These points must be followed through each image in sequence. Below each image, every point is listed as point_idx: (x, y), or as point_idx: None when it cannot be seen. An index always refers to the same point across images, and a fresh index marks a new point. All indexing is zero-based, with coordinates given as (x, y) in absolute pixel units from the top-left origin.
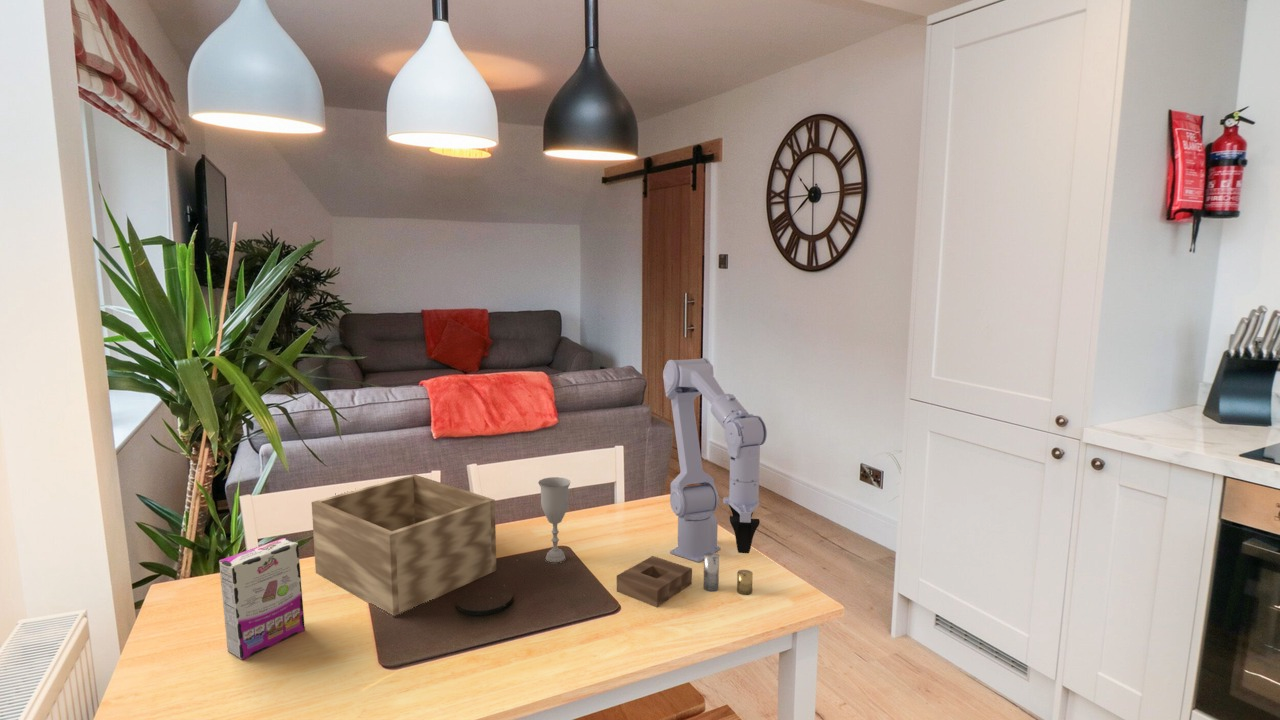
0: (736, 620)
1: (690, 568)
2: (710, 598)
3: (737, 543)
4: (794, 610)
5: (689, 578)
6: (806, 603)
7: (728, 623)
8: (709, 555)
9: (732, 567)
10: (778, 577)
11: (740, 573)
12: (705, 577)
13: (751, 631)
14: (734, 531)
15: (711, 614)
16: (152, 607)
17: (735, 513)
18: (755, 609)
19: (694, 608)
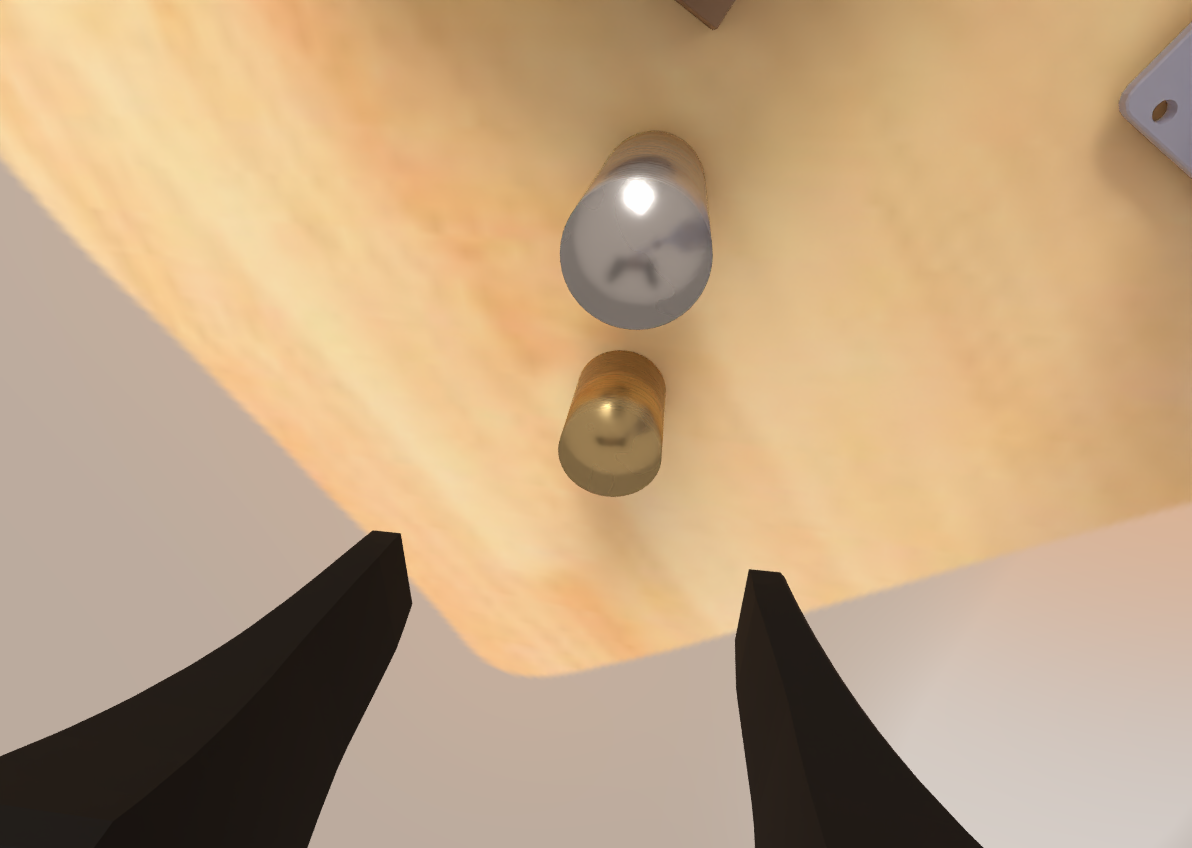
0: (291, 311)
1: (719, 12)
2: (513, 176)
3: (306, 590)
4: (459, 567)
5: (684, 5)
6: (531, 620)
7: (246, 266)
8: (640, 236)
9: (982, 361)
10: (801, 573)
11: (600, 426)
12: (611, 159)
13: (213, 369)
14: (150, 689)
15: (311, 172)
16: None
17: (803, 823)
18: (431, 417)
19: (355, 53)
